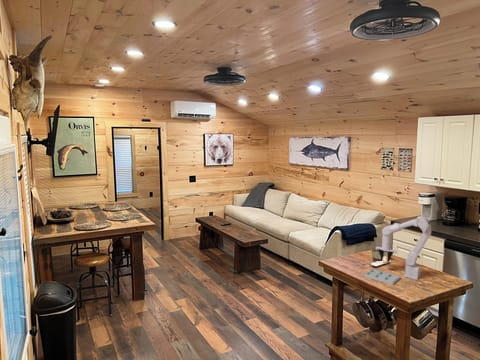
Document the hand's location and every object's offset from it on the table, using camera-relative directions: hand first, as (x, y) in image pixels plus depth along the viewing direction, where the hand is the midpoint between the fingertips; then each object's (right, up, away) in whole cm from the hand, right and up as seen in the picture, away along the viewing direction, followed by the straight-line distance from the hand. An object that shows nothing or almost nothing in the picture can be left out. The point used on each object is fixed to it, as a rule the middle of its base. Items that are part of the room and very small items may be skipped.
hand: (385, 260), depth 261 cm
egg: (0, -1, 0) cm, 2 cm away
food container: (+4, -5, +24) cm, 25 cm away
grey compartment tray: (-7, -10, -10) cm, 16 cm away
